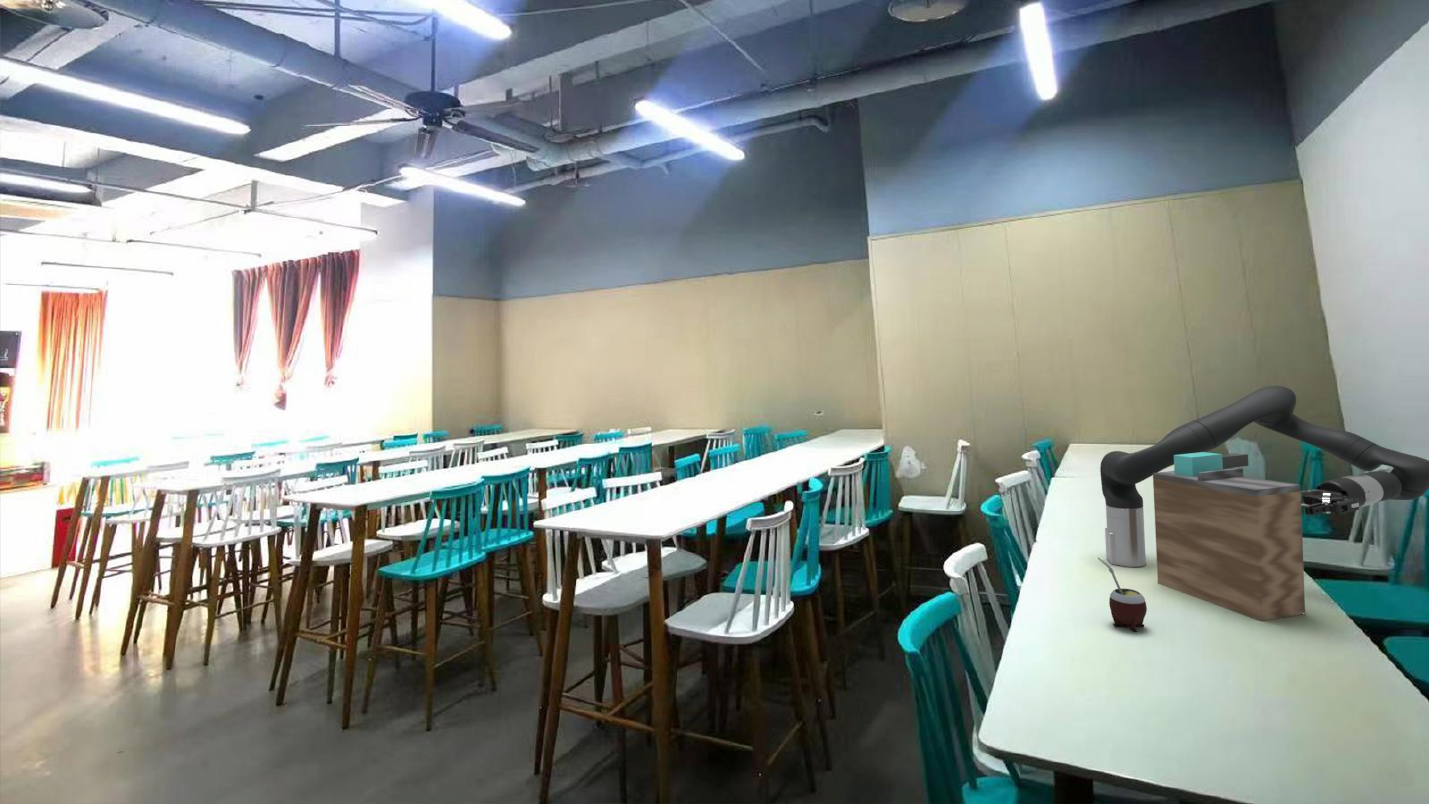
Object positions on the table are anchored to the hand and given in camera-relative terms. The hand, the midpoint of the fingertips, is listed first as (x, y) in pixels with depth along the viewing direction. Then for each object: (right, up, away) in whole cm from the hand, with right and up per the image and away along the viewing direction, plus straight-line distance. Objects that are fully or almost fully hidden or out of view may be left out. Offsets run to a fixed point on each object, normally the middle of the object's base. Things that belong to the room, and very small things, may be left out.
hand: (1287, 506), depth 141 cm
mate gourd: (-43, -27, -6) cm, 51 cm away
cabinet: (-11, -24, +5) cm, 26 cm away
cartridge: (-8, +7, +12) cm, 16 cm away
